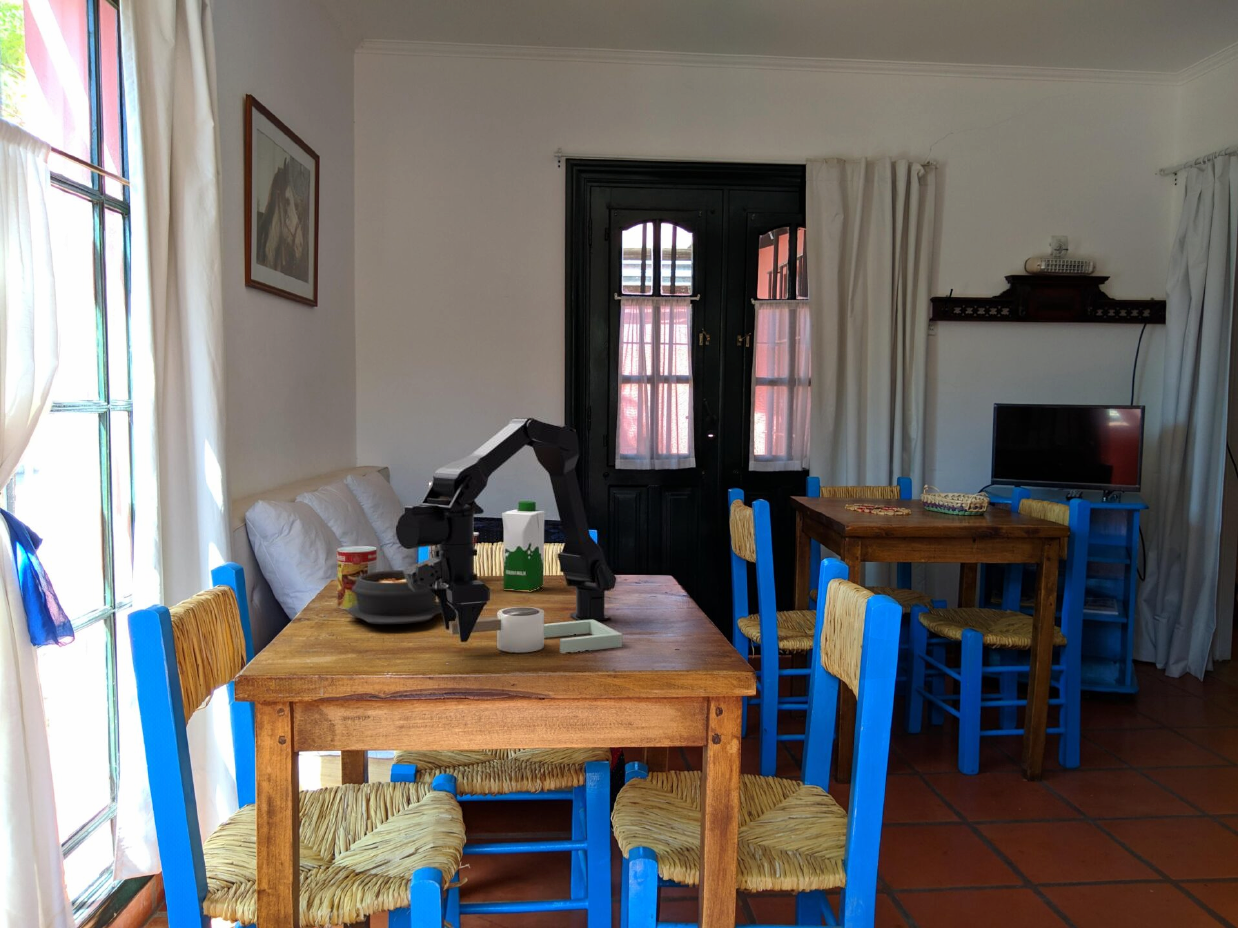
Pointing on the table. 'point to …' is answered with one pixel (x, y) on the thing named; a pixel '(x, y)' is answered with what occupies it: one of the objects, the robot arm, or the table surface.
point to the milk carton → (523, 547)
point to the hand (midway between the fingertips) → (456, 635)
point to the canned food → (353, 571)
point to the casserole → (391, 599)
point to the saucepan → (512, 628)
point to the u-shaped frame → (599, 640)
